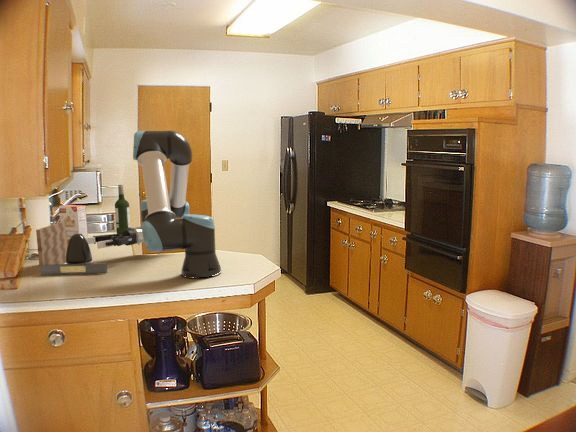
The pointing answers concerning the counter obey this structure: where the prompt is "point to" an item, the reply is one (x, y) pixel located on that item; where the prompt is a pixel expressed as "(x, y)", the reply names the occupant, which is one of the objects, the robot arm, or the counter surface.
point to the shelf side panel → (52, 244)
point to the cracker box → (74, 220)
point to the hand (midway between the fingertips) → (89, 243)
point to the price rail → (73, 269)
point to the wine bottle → (122, 212)
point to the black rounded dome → (78, 250)
